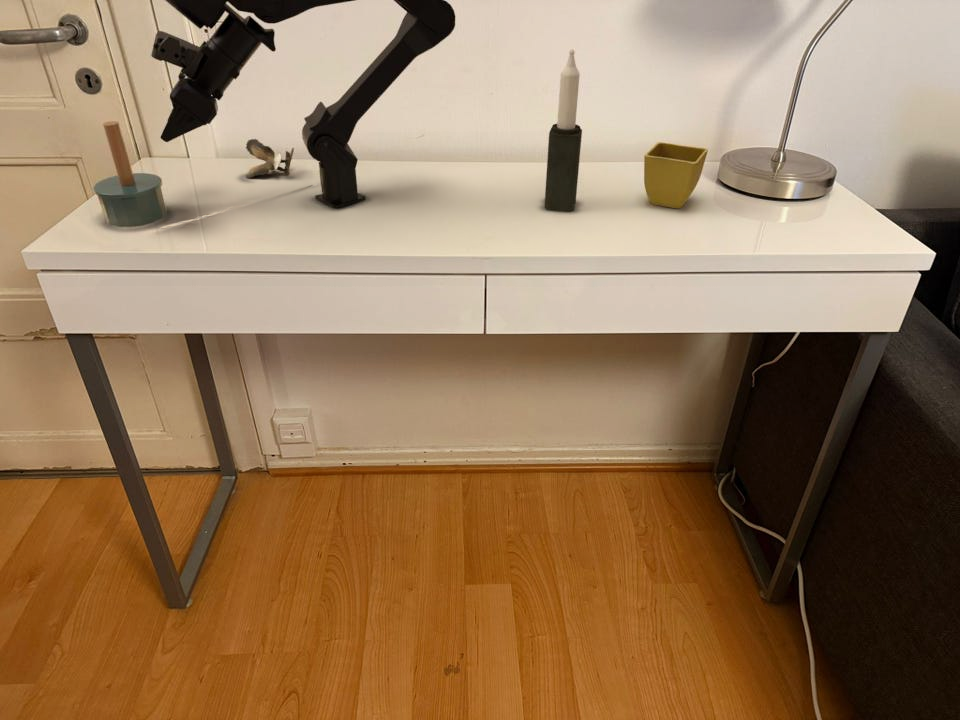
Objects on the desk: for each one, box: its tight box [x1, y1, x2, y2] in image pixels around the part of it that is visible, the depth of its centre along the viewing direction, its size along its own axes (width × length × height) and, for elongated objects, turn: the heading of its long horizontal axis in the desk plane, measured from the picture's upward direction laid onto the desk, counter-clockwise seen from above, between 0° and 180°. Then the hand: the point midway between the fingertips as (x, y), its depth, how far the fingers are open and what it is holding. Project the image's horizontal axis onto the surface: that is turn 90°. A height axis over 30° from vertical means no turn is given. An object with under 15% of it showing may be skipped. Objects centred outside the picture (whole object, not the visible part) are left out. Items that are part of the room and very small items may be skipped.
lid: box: [92, 120, 163, 199], centre depth 108 cm, size 10×10×11 cm
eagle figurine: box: [245, 138, 295, 179], centre depth 129 cm, size 8×7×9 cm
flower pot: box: [643, 141, 709, 209], centre depth 119 cm, size 9×9×9 cm
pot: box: [97, 186, 168, 228], centre depth 112 cm, size 9×9×5 cm
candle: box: [544, 48, 583, 213], centre depth 113 cm, size 5×5×25 cm
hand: (166, 131), depth 107 cm, fingers open, 9 cm apart
